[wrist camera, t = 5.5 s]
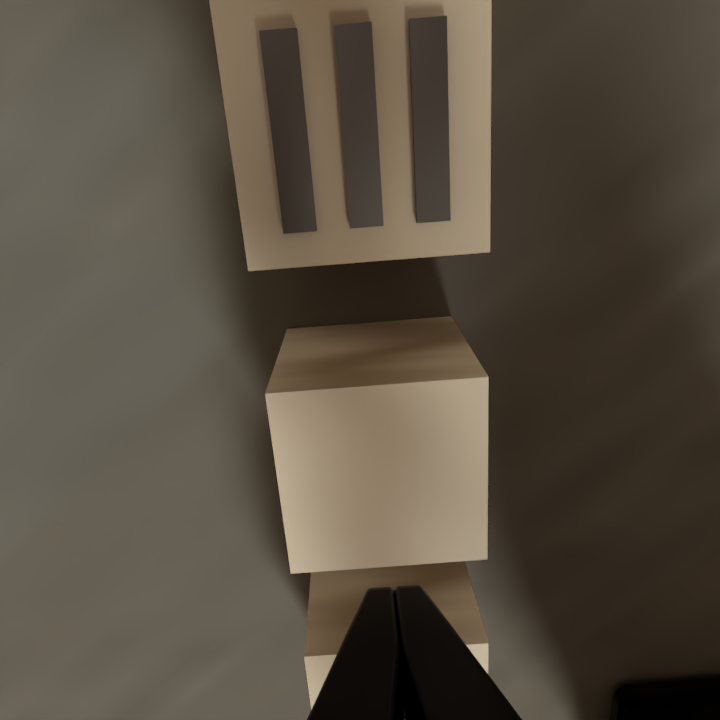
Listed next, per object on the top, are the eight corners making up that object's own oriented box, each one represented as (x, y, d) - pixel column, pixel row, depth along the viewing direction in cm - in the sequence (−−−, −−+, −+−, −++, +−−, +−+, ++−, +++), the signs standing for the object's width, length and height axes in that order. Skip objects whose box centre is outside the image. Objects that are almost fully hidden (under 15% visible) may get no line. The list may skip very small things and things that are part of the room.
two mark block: (454, 527, 18) (489, 648, 14) (456, 635, 20) (488, 775, 15) (313, 538, 18) (303, 662, 14) (326, 645, 20) (320, 787, 15)
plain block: (450, 315, 16) (488, 376, 11) (453, 458, 17) (487, 559, 13) (287, 327, 16) (265, 393, 11) (304, 470, 17) (290, 574, 13)
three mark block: (444, 24, 13) (494, -36, 9) (449, 222, 15) (492, 253, 10) (251, 40, 13) (205, -14, 9) (276, 236, 15) (246, 273, 10)
